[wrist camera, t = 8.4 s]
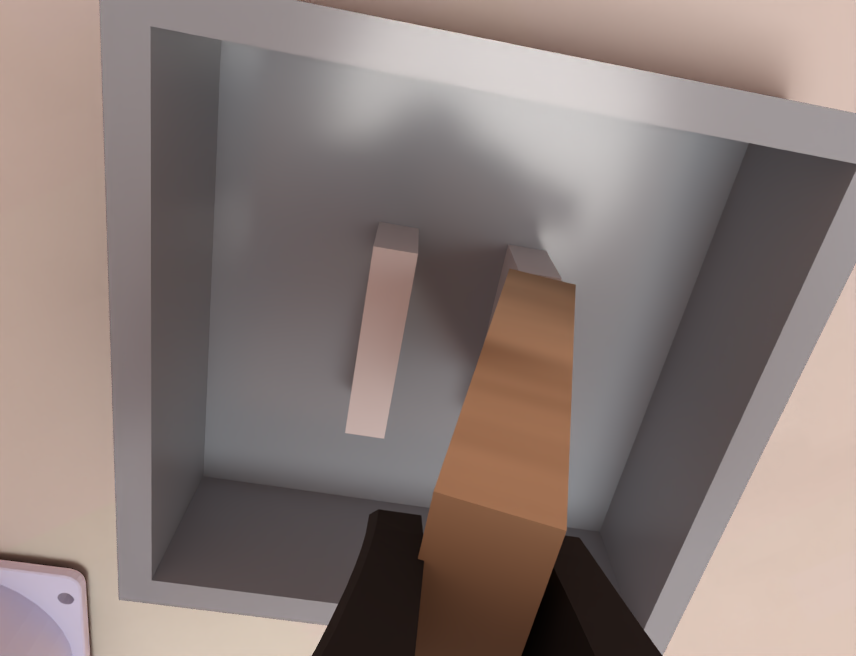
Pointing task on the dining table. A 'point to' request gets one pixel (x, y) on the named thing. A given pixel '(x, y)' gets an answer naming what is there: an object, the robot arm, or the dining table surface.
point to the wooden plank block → (502, 480)
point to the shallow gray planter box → (437, 288)
